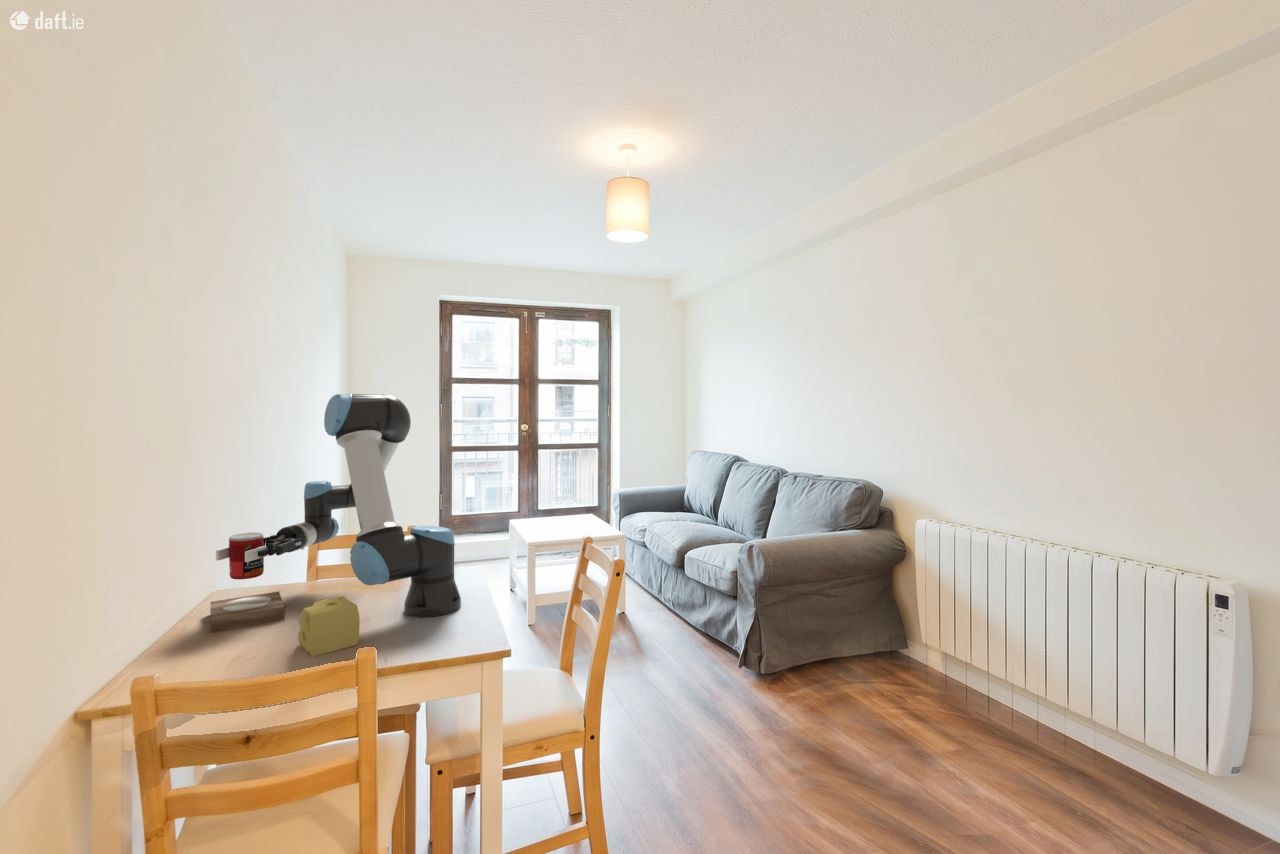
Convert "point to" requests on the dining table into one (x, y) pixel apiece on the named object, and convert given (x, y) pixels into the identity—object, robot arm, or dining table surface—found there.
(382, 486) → the robot arm
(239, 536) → the canned food
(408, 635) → the dining table surface
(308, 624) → the cheese
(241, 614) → the stand
